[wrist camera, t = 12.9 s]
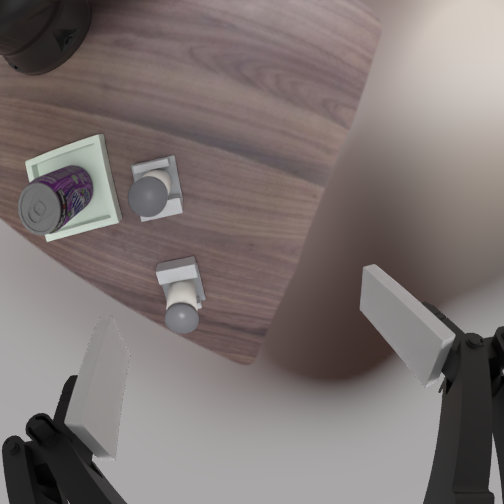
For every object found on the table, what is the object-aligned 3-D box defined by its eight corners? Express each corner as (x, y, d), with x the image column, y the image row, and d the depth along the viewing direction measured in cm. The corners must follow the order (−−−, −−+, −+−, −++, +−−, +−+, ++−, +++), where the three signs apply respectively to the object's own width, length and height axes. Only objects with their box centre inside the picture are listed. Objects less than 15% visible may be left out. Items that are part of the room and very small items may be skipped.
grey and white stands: (131, 164, 38) (114, 175, 29) (174, 154, 39) (169, 162, 30) (169, 304, 48) (166, 342, 40) (205, 297, 49) (210, 334, 40)
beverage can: (74, 220, 39) (42, 250, 28) (46, 188, 36) (6, 209, 25) (103, 188, 38) (74, 210, 28) (74, 154, 35) (36, 165, 24)
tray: (32, 159, 34) (25, 161, 32) (103, 133, 36) (98, 134, 33) (53, 236, 40) (47, 241, 37) (122, 217, 41) (118, 222, 39)
